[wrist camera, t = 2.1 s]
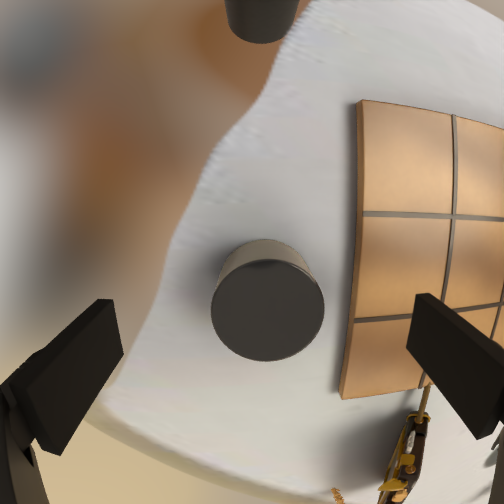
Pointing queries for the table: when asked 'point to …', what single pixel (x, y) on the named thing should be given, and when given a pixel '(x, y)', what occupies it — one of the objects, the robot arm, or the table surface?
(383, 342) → the game board
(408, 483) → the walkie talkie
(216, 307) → the dark grey short cylinder
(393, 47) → the table surface
